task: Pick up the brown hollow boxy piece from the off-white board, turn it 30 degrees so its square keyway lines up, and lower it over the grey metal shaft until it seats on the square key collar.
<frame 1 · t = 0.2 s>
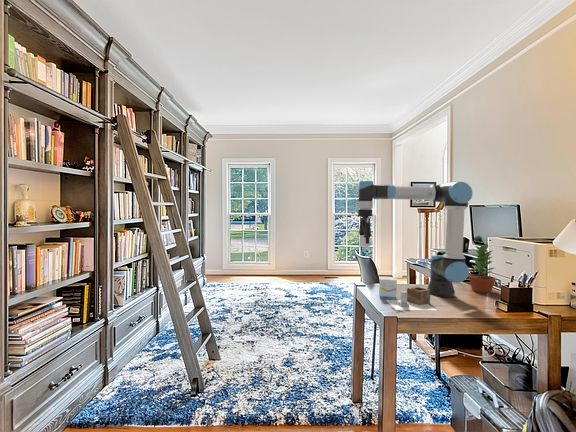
hand: (364, 248, 191), 28 cm above the table, fingers open, 13 cm apart
hub board: (410, 307, 177), on the table
potted plant: (480, 291, 217), on the table
brown hollow boxy piece: (418, 302, 182), point 1 cm above the table, touching hub board
ink box: (387, 299, 192), on the table
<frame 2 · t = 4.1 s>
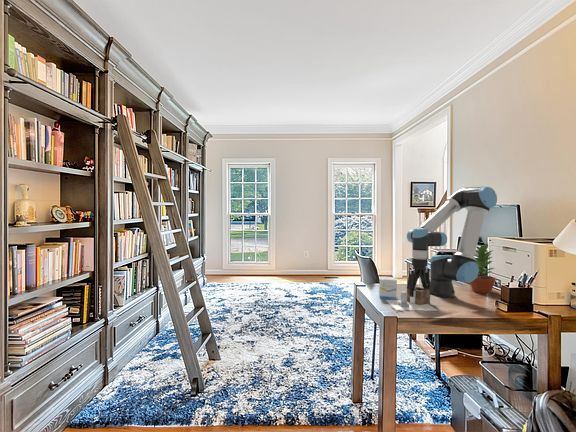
hand: (418, 301, 182), 1 cm above the table, fingers closed on hub board, brown hollow boxy piece, 8 cm apart
brown hollow boxy piece: (418, 302, 182), point 1 cm above the table, touching gripper
everything else where it was.
when the fingers open (3 cm above the table, at t = 9.2 s): brown hollow boxy piece drops 2 cm, resting on hub board.
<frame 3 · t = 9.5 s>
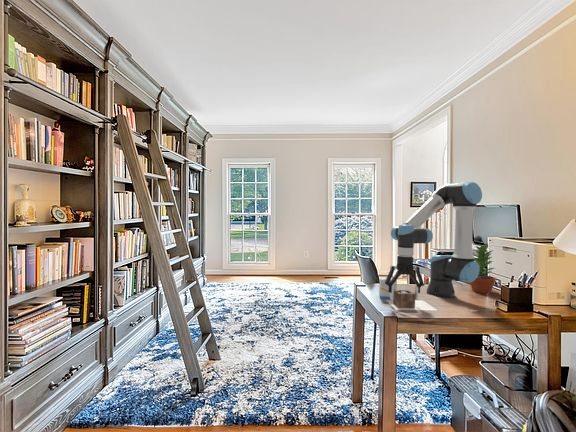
hand: (403, 299, 175), 4 cm above the table, fingers open, 11 cm apart
brown hollow boxy piece: (403, 305, 175), point 1 cm above the table, touching hub board
everything else where it was.
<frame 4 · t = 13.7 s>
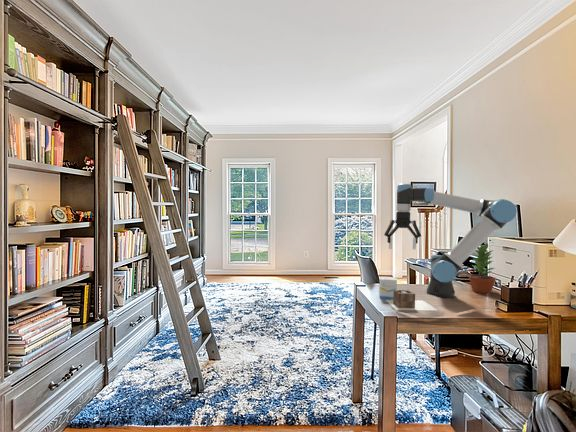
hand: (402, 249, 199), 27 cm above the table, fingers open, 13 cm apart
nothing on the table moved.
at the end: brown hollow boxy piece 0.0 cm from the target spot on the hub board, point 1.2 cm above the hub board's base; the gripper is holding nothing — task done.
